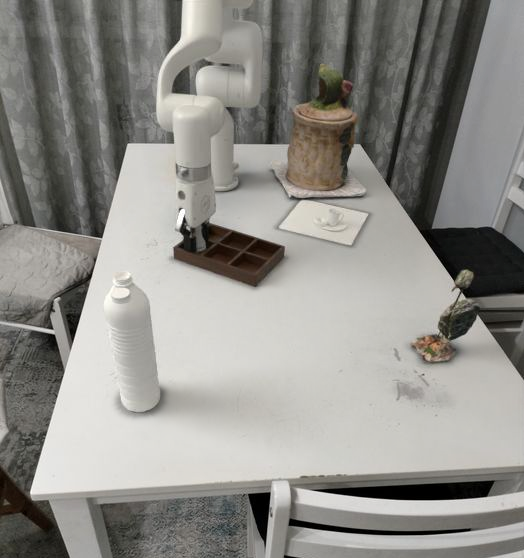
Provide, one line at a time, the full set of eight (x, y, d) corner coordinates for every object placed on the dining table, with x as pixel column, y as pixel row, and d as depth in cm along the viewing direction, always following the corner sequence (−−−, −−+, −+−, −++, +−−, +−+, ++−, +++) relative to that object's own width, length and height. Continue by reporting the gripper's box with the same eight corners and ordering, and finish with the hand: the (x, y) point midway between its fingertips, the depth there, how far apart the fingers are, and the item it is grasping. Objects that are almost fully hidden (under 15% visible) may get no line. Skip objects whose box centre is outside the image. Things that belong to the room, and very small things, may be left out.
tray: (207, 233, 129) (207, 222, 127) (284, 257, 122) (285, 246, 120) (173, 258, 119) (173, 247, 117) (255, 287, 112) (255, 275, 110)
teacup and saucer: (310, 227, 134) (312, 213, 131) (319, 215, 140) (321, 201, 137) (342, 235, 132) (344, 220, 129) (349, 222, 138) (352, 208, 135)
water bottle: (122, 386, 87) (99, 262, 71) (160, 383, 88) (146, 261, 72) (119, 425, 81) (93, 299, 64) (160, 421, 82) (145, 297, 65)
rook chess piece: (209, 246, 120) (208, 215, 115) (201, 254, 117) (200, 223, 112) (192, 242, 121) (190, 211, 116) (184, 250, 118) (182, 219, 112)
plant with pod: (473, 360, 97) (513, 273, 84) (419, 365, 95) (452, 277, 82) (454, 334, 103) (488, 248, 90) (403, 338, 101) (430, 251, 88)
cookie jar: (288, 200, 145) (300, 77, 124) (268, 168, 163) (275, 56, 142) (368, 196, 150) (391, 78, 129) (339, 165, 168) (356, 57, 147)
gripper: (185, 188, 99) (189, 266, 112) (229, 161, 111) (228, 235, 123) (154, 179, 102) (162, 257, 114) (200, 154, 113) (202, 227, 125)
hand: (196, 245), depth 118 cm, fingers closed on rook chess piece, 4 cm apart
